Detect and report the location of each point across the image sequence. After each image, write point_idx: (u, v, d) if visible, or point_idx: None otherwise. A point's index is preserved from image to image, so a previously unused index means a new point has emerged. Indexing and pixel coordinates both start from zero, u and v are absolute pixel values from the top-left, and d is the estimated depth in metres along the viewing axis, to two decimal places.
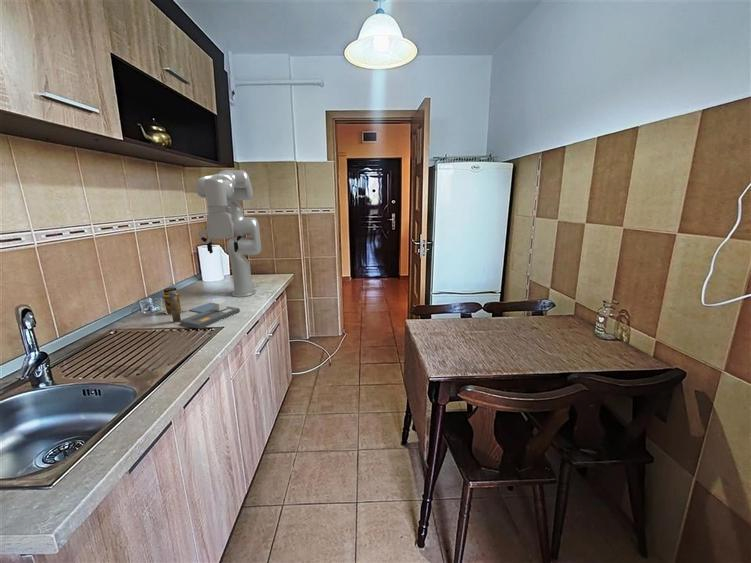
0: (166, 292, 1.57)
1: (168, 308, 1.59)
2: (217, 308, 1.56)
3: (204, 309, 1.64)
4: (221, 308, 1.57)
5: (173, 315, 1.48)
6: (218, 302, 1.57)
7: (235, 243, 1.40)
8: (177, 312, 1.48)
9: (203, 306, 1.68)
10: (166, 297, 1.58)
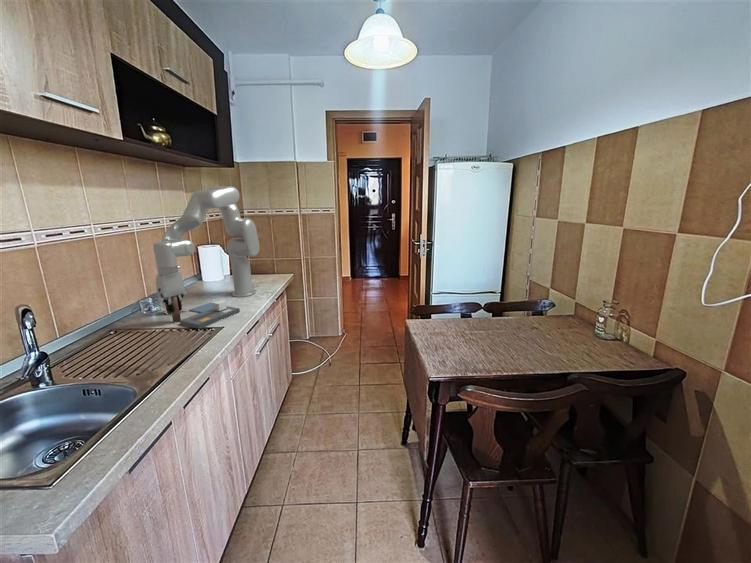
0: None
1: None
2: (217, 308, 1.56)
3: (204, 309, 1.64)
4: (221, 308, 1.57)
5: (173, 315, 1.48)
6: (218, 302, 1.57)
7: (180, 302, 1.49)
8: (177, 312, 1.48)
9: (203, 306, 1.68)
10: None
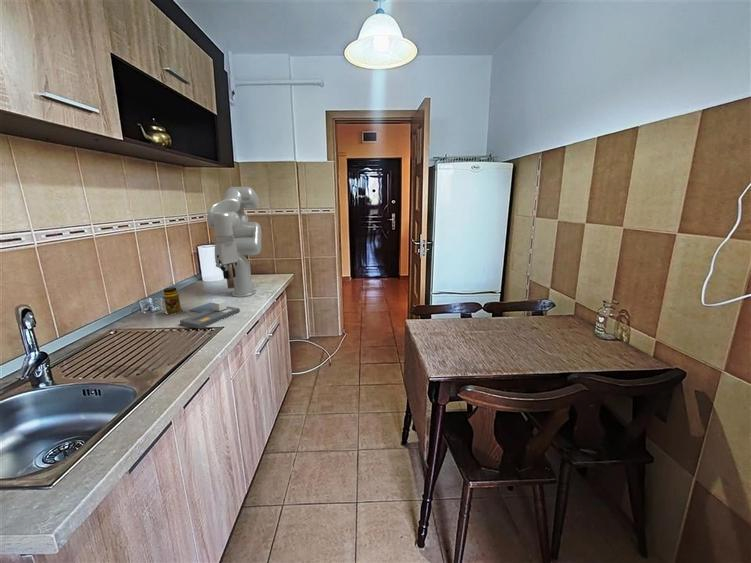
0: (166, 292, 1.57)
1: (168, 308, 1.59)
2: (217, 308, 1.56)
3: (204, 309, 1.64)
4: (221, 308, 1.57)
5: (228, 281, 1.61)
6: (218, 302, 1.57)
7: (234, 269, 1.62)
8: (232, 278, 1.61)
9: (203, 306, 1.68)
10: (166, 297, 1.58)
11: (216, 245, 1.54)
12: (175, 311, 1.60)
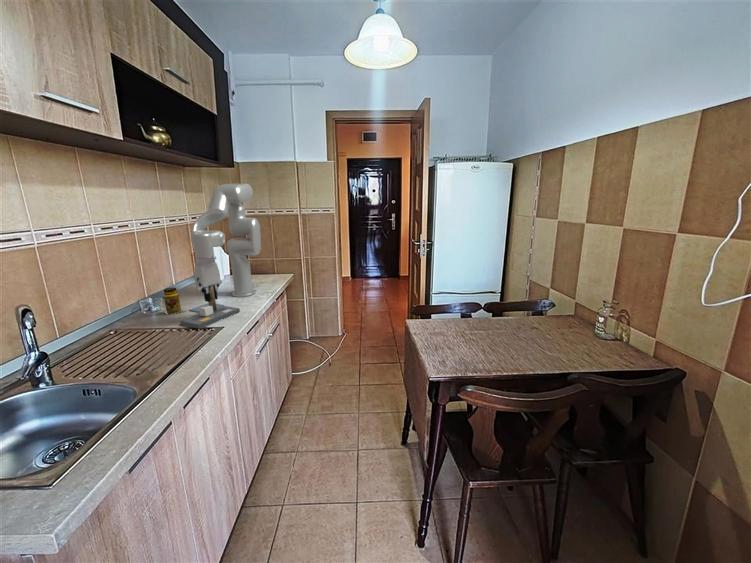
0: (166, 292, 1.57)
1: (168, 308, 1.59)
2: (203, 313, 1.50)
3: None
4: (208, 313, 1.51)
5: (210, 304, 1.53)
6: (204, 307, 1.51)
7: None
8: (214, 301, 1.53)
9: None
10: (166, 297, 1.58)
11: (196, 267, 1.46)
12: (175, 311, 1.60)
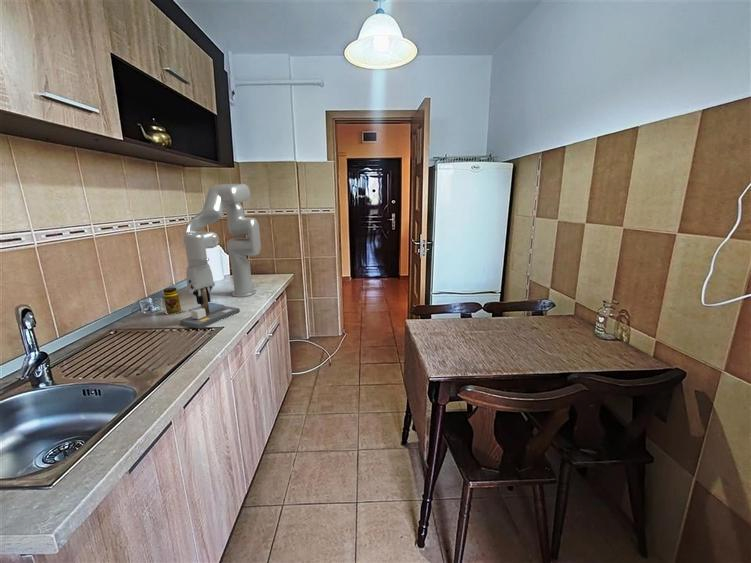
0: (166, 292, 1.57)
1: (168, 308, 1.59)
2: (195, 316, 1.46)
3: None
4: (200, 316, 1.47)
5: (202, 307, 1.49)
6: (197, 310, 1.47)
7: (209, 294, 1.51)
8: (206, 304, 1.50)
9: None
10: (166, 297, 1.58)
11: (188, 269, 1.43)
12: (175, 311, 1.60)
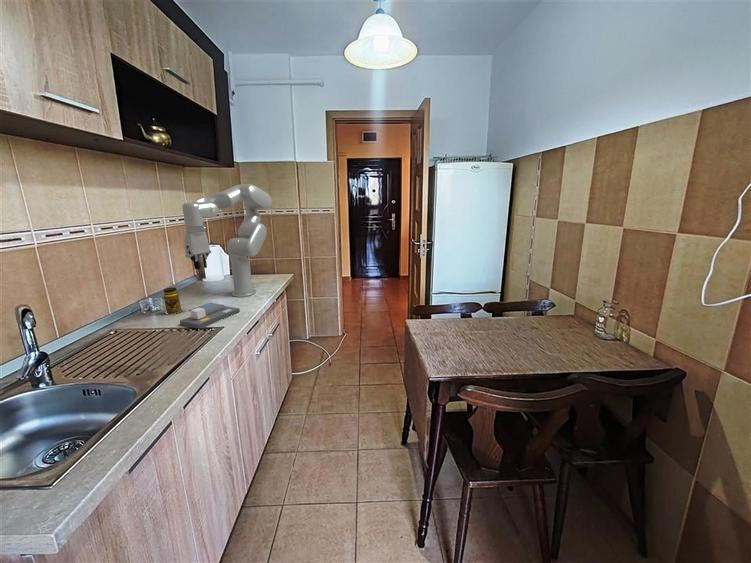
0: (166, 292, 1.57)
1: (168, 308, 1.59)
2: (195, 316, 1.46)
3: None
4: (200, 316, 1.47)
5: (199, 272, 1.61)
6: (196, 310, 1.47)
7: (205, 260, 1.62)
8: (203, 269, 1.61)
9: (203, 306, 1.68)
10: (166, 297, 1.58)
11: (185, 235, 1.54)
12: (175, 311, 1.60)
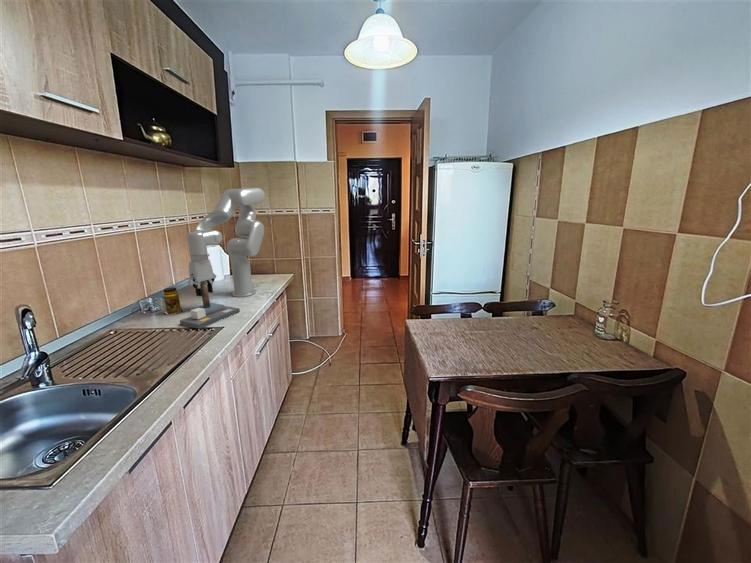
0: (166, 292, 1.57)
1: (168, 308, 1.59)
2: (195, 316, 1.46)
3: None
4: (200, 316, 1.47)
5: (204, 301, 1.65)
6: (196, 310, 1.47)
7: (211, 285, 1.67)
8: (207, 298, 1.65)
9: (203, 306, 1.68)
10: (166, 297, 1.58)
11: (190, 264, 1.58)
12: (175, 311, 1.60)
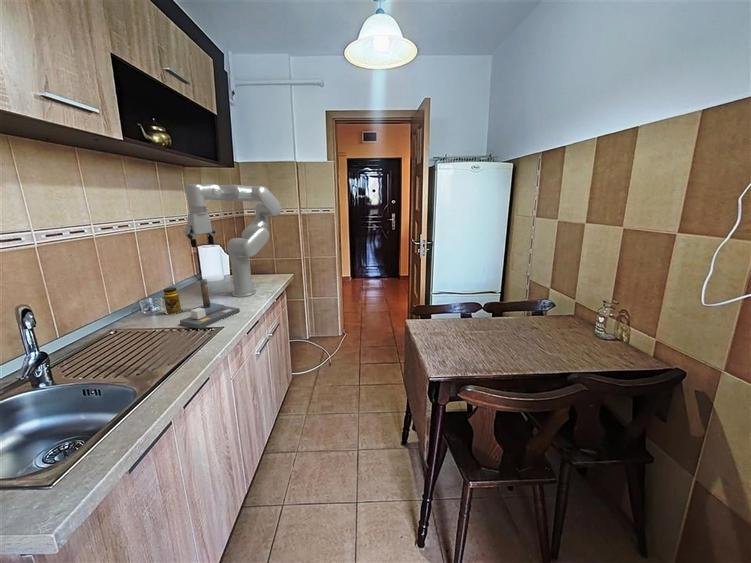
0: (166, 292, 1.57)
1: (168, 308, 1.59)
2: (195, 316, 1.46)
3: None
4: (200, 316, 1.47)
5: (204, 301, 1.65)
6: (196, 310, 1.47)
7: (212, 237, 1.70)
8: (207, 298, 1.65)
9: (203, 306, 1.68)
10: (166, 297, 1.58)
11: (189, 215, 1.59)
12: (175, 311, 1.60)
